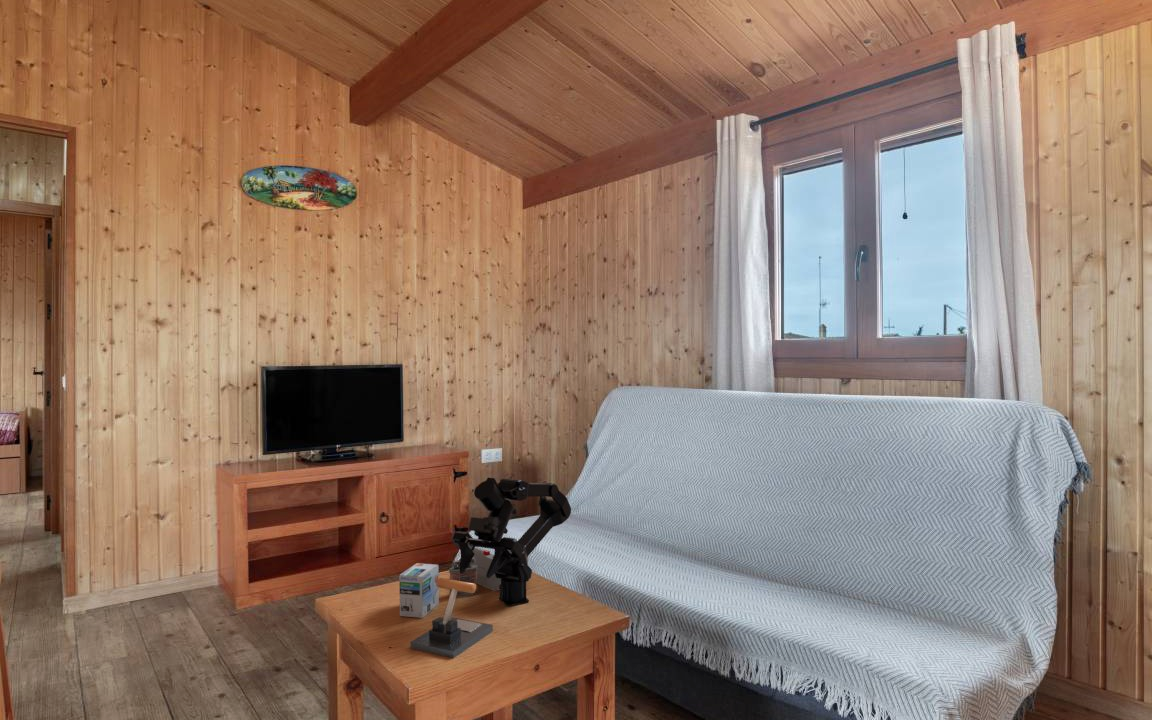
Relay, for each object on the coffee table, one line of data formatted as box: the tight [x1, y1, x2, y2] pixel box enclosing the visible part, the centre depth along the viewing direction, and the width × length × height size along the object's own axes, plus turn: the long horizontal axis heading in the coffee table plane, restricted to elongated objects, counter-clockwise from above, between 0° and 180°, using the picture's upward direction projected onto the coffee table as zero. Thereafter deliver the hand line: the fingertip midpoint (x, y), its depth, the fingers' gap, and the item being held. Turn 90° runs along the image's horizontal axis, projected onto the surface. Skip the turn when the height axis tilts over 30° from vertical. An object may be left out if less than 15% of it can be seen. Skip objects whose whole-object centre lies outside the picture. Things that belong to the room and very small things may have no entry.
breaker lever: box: [436, 577, 476, 625], centre depth 156 cm, size 2×10×10 cm, turn 64°
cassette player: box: [470, 547, 501, 592], centre depth 196 cm, size 16×3×10 cm, turn 43°
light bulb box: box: [398, 562, 440, 619], centre depth 175 cm, size 11×7×11 cm, turn 168°
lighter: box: [448, 557, 479, 598], centre depth 187 cm, size 8×3×10 cm, turn 114°
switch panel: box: [409, 616, 494, 659], centre depth 157 cm, size 16×12×6 cm
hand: (474, 575), depth 165 cm, fingers open, 8 cm apart
